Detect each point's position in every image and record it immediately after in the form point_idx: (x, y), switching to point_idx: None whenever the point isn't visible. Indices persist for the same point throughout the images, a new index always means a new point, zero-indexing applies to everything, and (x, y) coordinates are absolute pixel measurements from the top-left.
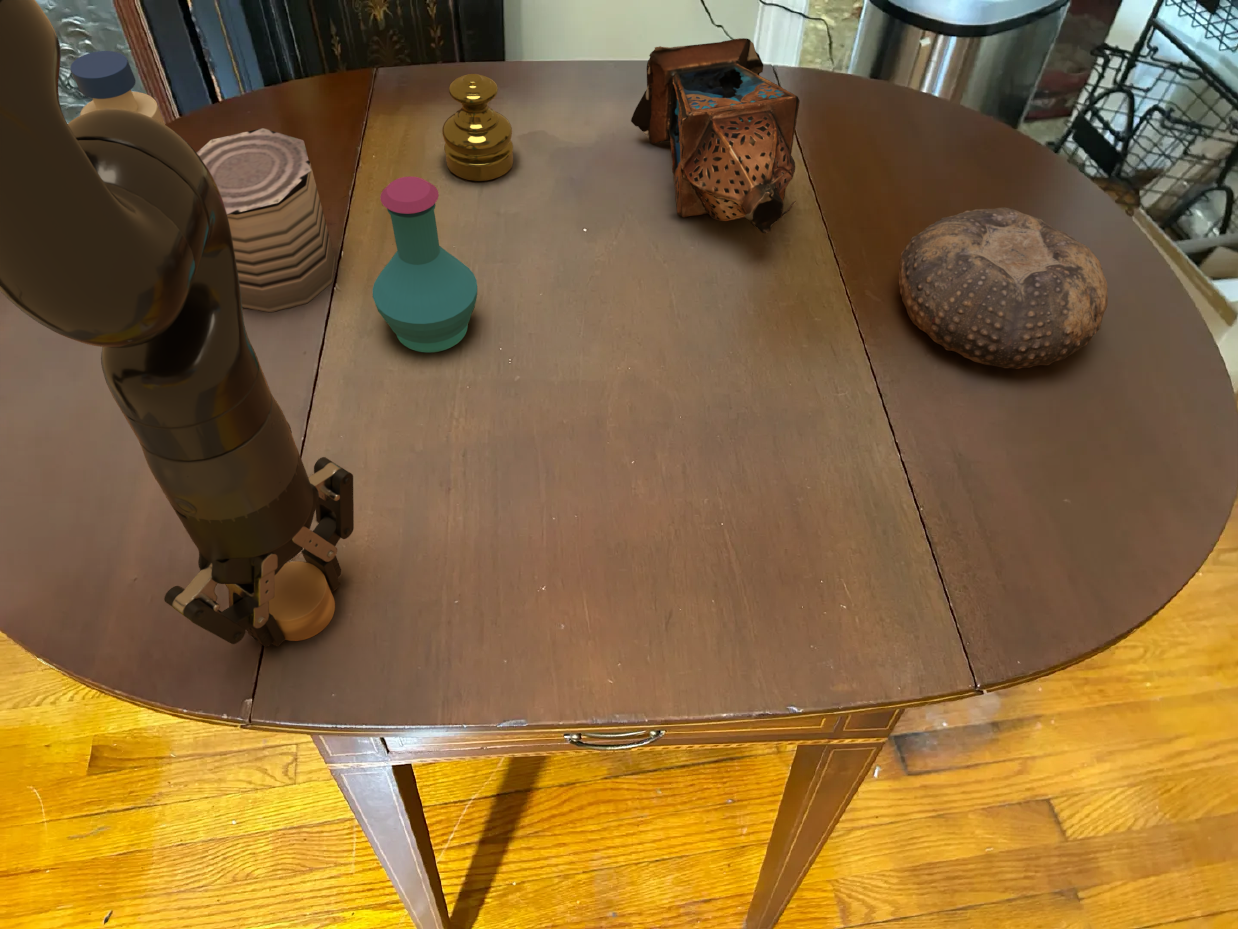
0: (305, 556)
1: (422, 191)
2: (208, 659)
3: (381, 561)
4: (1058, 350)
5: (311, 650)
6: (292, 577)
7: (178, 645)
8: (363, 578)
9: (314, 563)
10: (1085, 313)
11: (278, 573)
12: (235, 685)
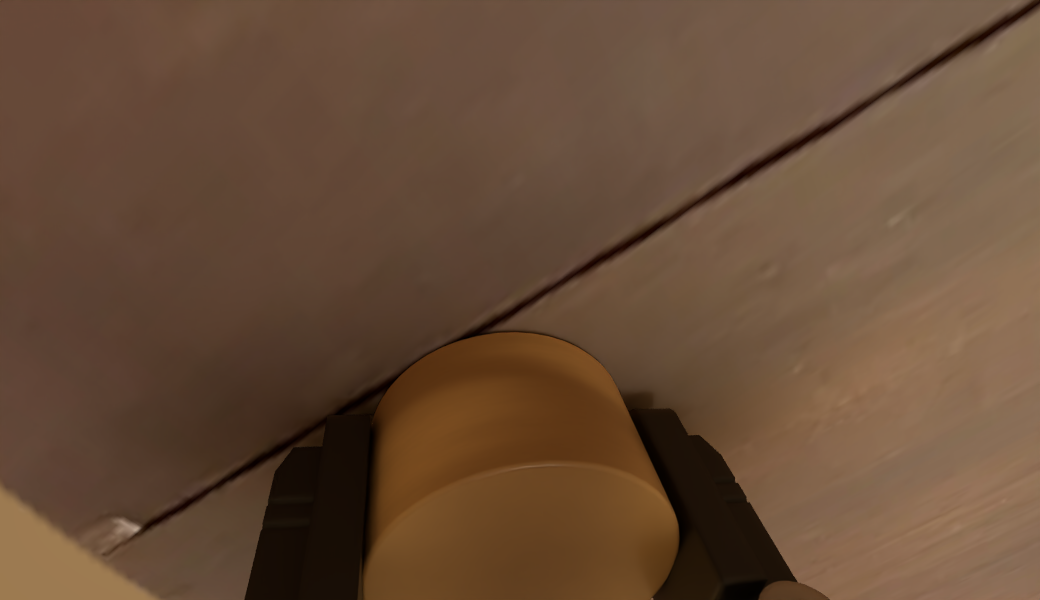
0: (703, 570)
1: None
2: (95, 322)
3: (769, 480)
4: None
5: None
6: (584, 547)
7: (3, 153)
8: None
9: (683, 592)
10: None
11: (574, 496)
12: (121, 465)
